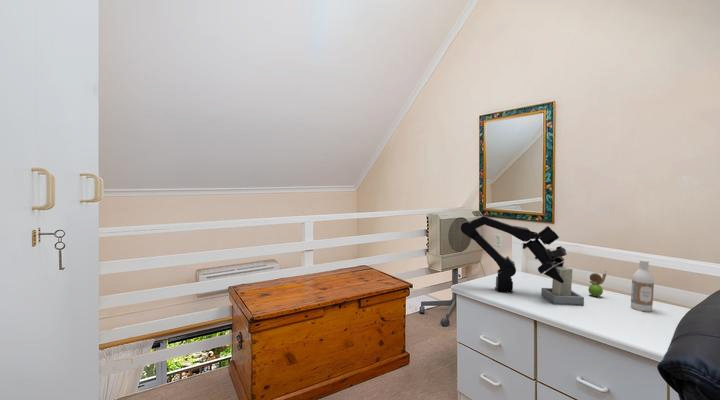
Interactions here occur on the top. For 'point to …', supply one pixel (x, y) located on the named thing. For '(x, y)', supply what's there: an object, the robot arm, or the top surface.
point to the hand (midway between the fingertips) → (565, 281)
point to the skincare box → (564, 287)
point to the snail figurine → (596, 284)
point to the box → (562, 298)
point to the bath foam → (642, 288)
